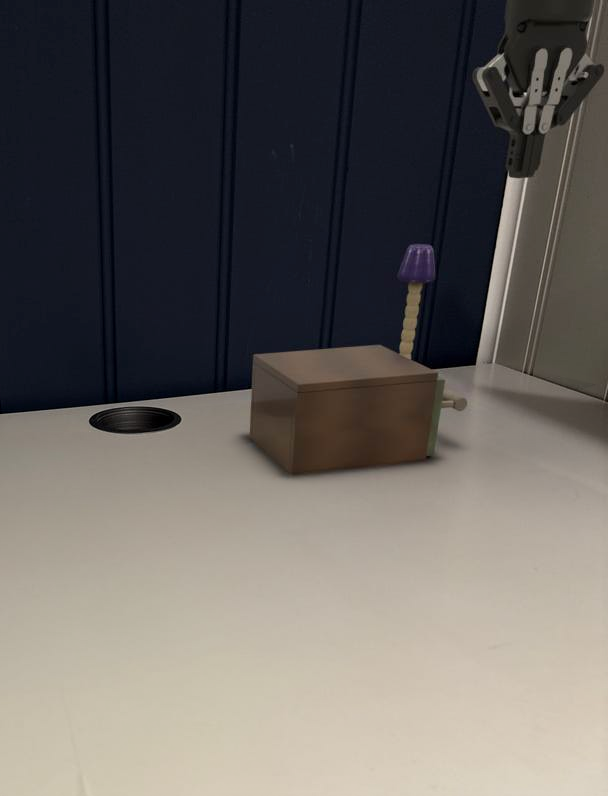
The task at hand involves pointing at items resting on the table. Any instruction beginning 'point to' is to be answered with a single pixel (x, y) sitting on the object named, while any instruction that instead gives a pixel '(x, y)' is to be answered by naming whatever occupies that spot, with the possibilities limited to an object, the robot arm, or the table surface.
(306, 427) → the cabinet
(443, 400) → the drawer
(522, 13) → the robot arm
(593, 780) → the table surface
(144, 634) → the table surface
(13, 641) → the table surface
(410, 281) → the toy lamp
